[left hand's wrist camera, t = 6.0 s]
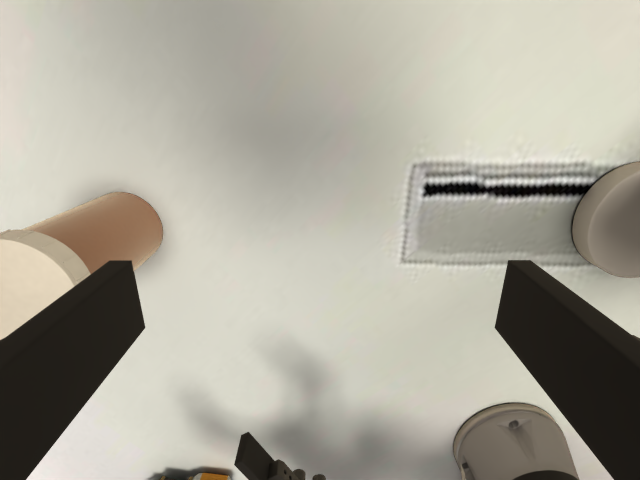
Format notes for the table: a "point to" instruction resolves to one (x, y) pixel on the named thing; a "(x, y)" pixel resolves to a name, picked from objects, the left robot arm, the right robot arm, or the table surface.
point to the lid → (33, 275)
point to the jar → (107, 230)
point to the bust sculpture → (611, 222)
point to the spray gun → (204, 477)
